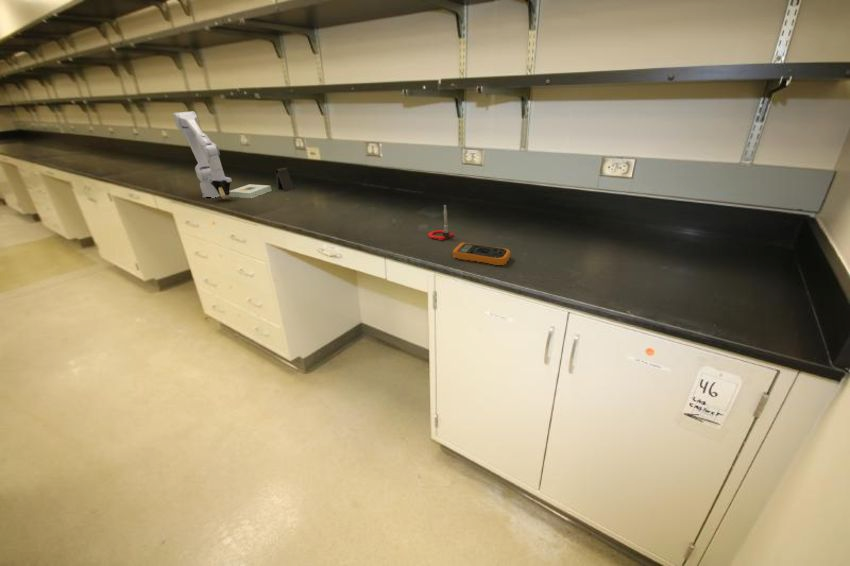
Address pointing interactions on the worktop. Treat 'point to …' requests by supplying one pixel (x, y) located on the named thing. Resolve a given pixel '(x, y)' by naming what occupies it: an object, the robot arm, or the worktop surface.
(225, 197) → the cylinder
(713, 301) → the worktop surface
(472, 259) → the multimeter
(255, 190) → the plate
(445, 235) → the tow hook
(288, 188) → the phone stand
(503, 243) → the worktop surface
